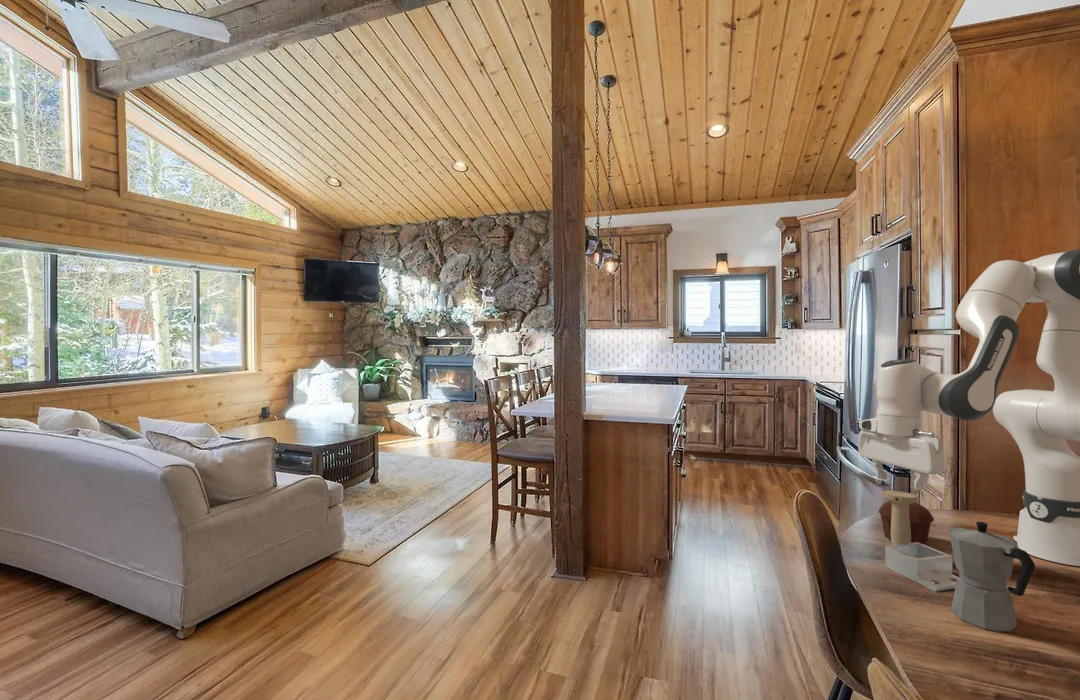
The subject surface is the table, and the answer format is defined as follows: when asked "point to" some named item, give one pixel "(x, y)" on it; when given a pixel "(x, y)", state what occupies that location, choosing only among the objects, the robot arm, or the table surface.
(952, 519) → the table surface
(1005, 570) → the coffeepot
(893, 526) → the handle
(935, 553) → the flanged open box
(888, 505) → the muffin
